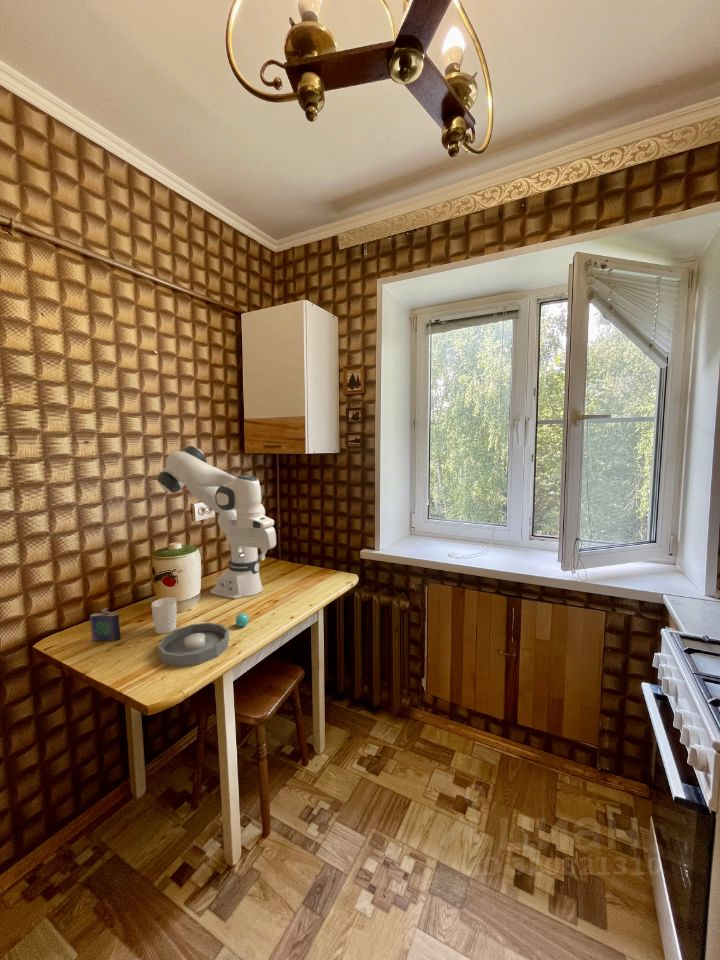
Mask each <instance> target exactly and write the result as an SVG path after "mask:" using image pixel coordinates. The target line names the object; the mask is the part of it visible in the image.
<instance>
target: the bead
mask: <svg viewBox="0 0 720 960" xmlns="http://www.w3.org/2000/svg"><path fill="white" fill-rule="evenodd" d="M248 623H249V615H248V614H247V613H245V612H242V613H239V614H237V615H236V617H235V624H236V626H238V627H241V628H242V627H245V626H246V625H247V624H248Z"/></svg>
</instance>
